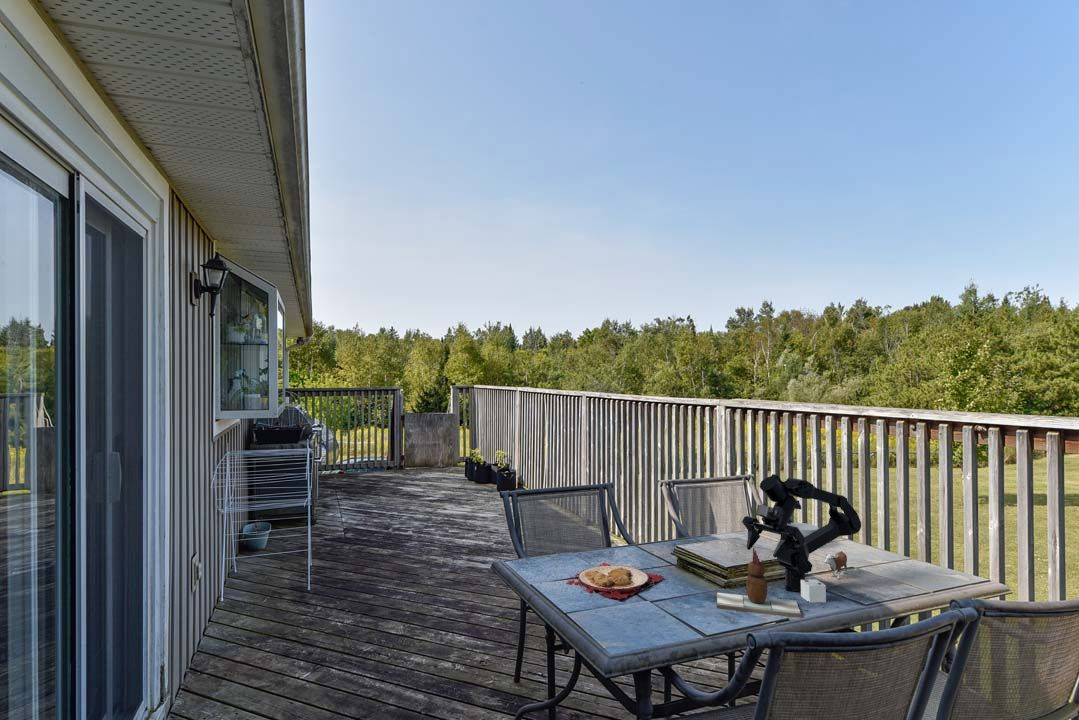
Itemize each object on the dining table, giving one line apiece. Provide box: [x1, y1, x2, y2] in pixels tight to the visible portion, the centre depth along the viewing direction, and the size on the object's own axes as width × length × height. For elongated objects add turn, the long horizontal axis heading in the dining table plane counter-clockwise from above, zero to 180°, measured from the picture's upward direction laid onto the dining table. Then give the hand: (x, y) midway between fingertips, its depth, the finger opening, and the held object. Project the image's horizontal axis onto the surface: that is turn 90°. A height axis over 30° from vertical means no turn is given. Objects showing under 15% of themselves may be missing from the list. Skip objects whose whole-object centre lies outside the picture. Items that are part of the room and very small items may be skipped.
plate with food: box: [565, 562, 665, 600], centre depth 187 cm, size 25×26×4 cm
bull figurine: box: [823, 550, 848, 580], centre depth 192 cm, size 4×13×8 cm, turn 132°
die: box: [800, 579, 827, 603], centre depth 172 cm, size 5×5×5 cm
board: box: [716, 592, 802, 618], centre depth 166 cm, size 10×22×1 cm, turn 73°
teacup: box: [787, 522, 820, 537], centre depth 230 cm, size 15×12×8 cm
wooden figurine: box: [745, 547, 768, 603], centre depth 166 cm, size 7×6×15 cm
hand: (760, 552), depth 173 cm, fingers open, 9 cm apart
